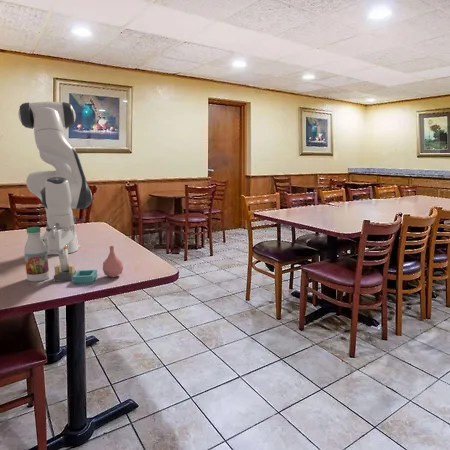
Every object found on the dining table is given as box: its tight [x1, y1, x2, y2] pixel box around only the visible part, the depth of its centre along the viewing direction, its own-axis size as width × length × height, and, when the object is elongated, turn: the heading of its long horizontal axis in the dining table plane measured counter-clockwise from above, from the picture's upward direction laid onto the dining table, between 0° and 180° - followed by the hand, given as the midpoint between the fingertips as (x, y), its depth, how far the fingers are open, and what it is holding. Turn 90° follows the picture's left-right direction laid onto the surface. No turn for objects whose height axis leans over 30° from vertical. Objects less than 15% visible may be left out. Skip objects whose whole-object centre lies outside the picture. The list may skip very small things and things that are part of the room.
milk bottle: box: [23, 226, 50, 282], centre depth 147 cm, size 8×8×20 cm
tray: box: [72, 269, 98, 286], centre depth 146 cm, size 7×8×3 cm
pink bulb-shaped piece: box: [102, 245, 124, 278], centre depth 150 cm, size 8×8×12 cm
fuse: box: [59, 245, 70, 271], centre depth 148 cm, size 3×3×9 cm
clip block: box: [53, 263, 77, 282], centre depth 149 cm, size 6×6×5 cm
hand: (63, 257), depth 148 cm, fingers closed on fuse, 3 cm apart
